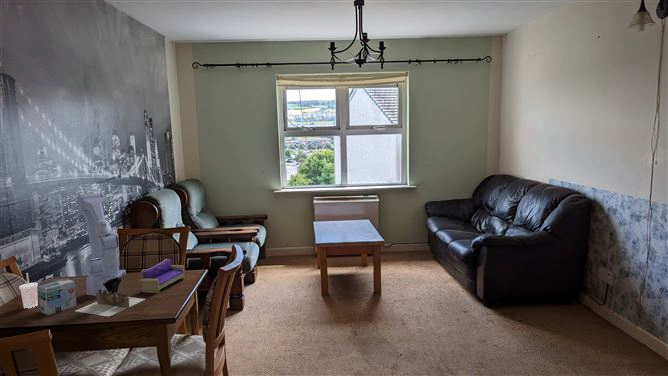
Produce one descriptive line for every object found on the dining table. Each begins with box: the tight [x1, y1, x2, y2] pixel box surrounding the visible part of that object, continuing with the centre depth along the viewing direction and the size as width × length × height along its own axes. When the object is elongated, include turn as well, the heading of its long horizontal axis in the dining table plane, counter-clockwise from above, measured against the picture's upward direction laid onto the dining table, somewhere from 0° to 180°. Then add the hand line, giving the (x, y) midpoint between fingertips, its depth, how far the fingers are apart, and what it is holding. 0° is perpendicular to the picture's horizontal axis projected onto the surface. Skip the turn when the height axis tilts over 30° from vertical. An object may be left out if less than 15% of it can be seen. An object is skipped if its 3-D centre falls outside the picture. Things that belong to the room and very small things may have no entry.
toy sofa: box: [139, 258, 186, 294], centre depth 190 cm, size 21×9×10 cm, turn 166°
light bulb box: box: [37, 278, 77, 316], centre depth 165 cm, size 11×7×11 cm, turn 148°
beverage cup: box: [18, 272, 39, 309], centre depth 170 cm, size 6×6×14 cm
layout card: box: [75, 296, 146, 317], centre depth 168 cm, size 18×18×1 cm
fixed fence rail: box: [116, 292, 130, 309], centre depth 166 cm, size 5×1×5 cm, turn 69°
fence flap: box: [95, 290, 117, 305], centre depth 168 cm, size 10×1×5 cm, turn 69°
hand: (113, 296), depth 172 cm, fingers closed
